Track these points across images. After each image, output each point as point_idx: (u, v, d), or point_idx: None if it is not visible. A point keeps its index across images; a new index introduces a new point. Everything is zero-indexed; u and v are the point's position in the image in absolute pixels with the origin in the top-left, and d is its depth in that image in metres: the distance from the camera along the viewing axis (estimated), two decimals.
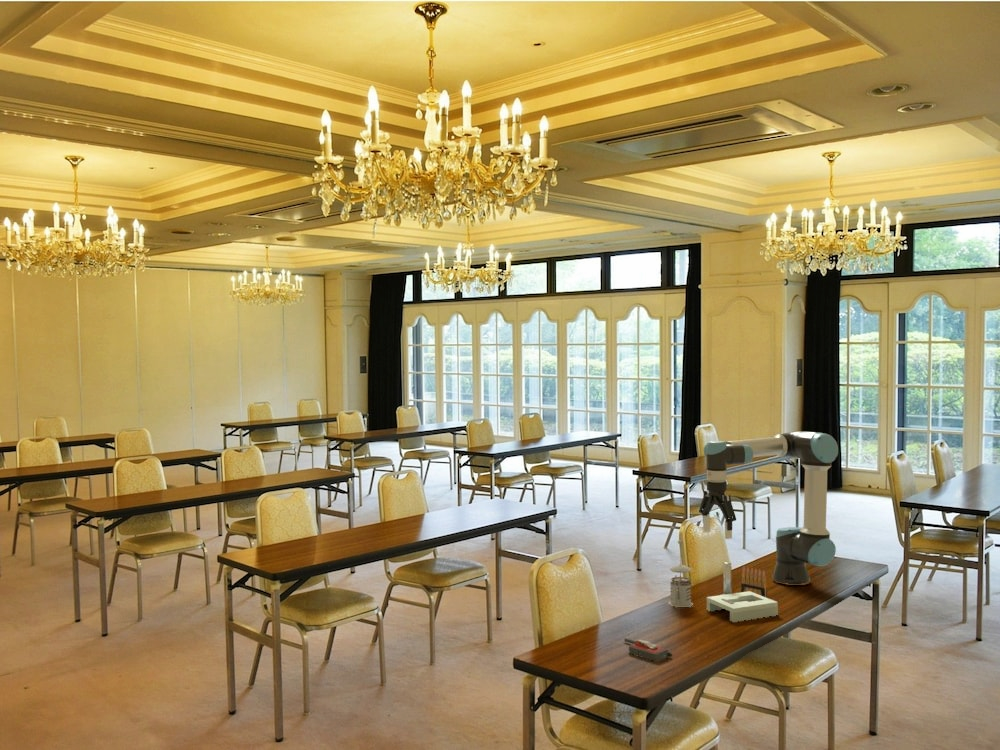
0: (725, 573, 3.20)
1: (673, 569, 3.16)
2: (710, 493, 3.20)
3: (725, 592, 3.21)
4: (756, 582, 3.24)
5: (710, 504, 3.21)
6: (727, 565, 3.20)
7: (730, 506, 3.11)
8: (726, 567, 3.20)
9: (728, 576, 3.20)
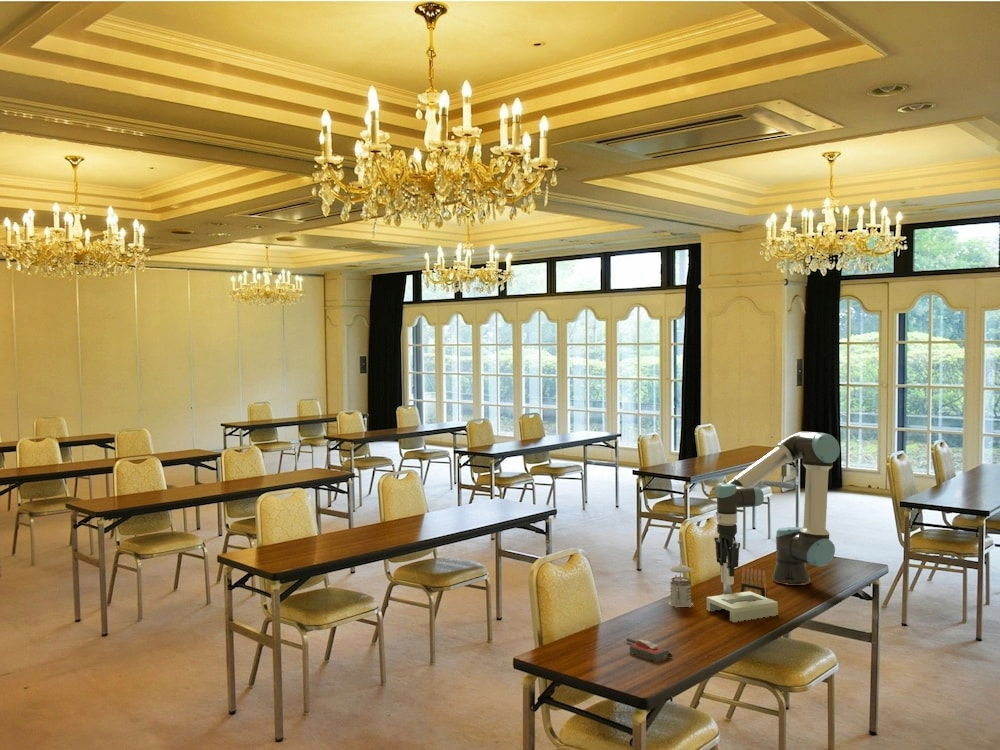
0: (725, 573, 3.20)
1: (673, 569, 3.16)
2: (720, 535, 3.24)
3: (725, 592, 3.21)
4: (756, 582, 3.24)
5: (723, 549, 3.22)
6: (727, 565, 3.20)
7: (736, 554, 3.16)
8: (726, 567, 3.20)
9: None
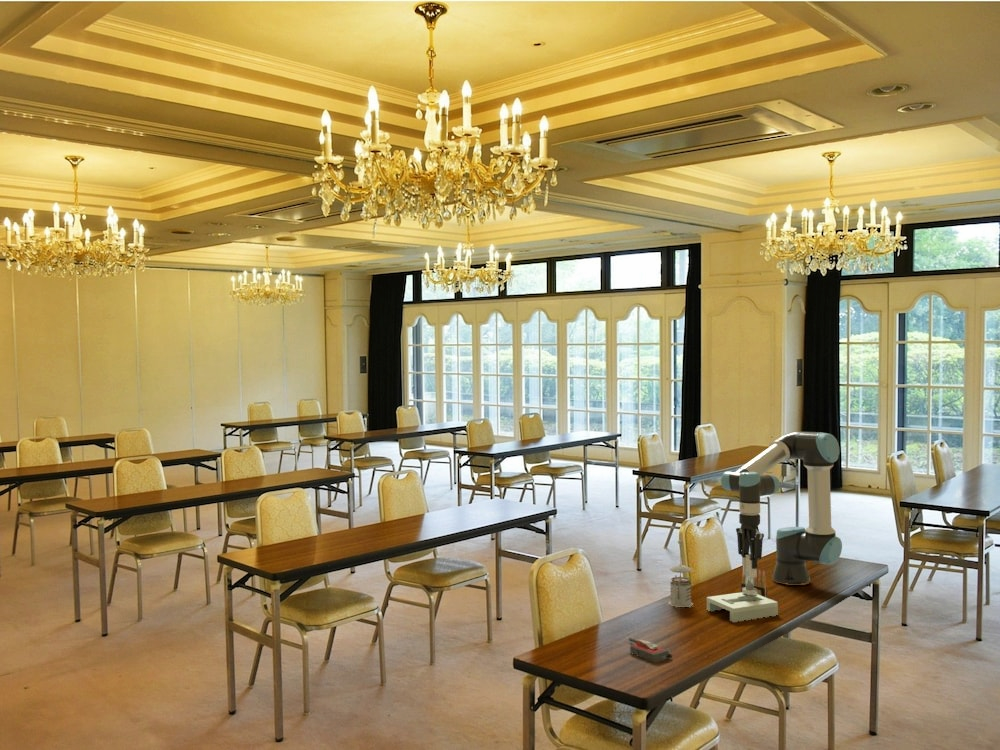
0: (747, 565, 3.06)
1: (673, 569, 3.16)
2: (742, 525, 3.09)
3: (747, 585, 3.06)
4: (756, 582, 3.24)
5: (746, 540, 3.08)
6: (749, 557, 3.05)
7: (760, 545, 3.02)
8: (748, 559, 3.06)
9: None
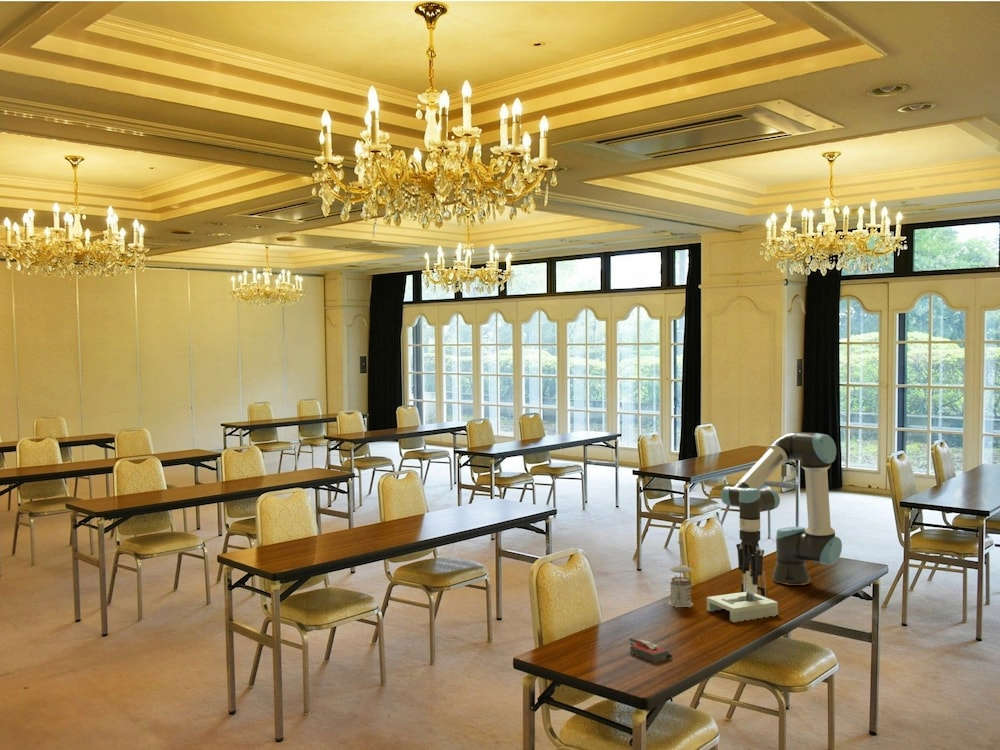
0: (748, 581, 3.06)
1: (673, 569, 3.16)
2: (742, 541, 3.09)
3: (748, 601, 3.06)
4: None
5: (746, 556, 3.08)
6: (750, 573, 3.06)
7: (760, 561, 3.02)
8: (748, 575, 3.06)
9: None
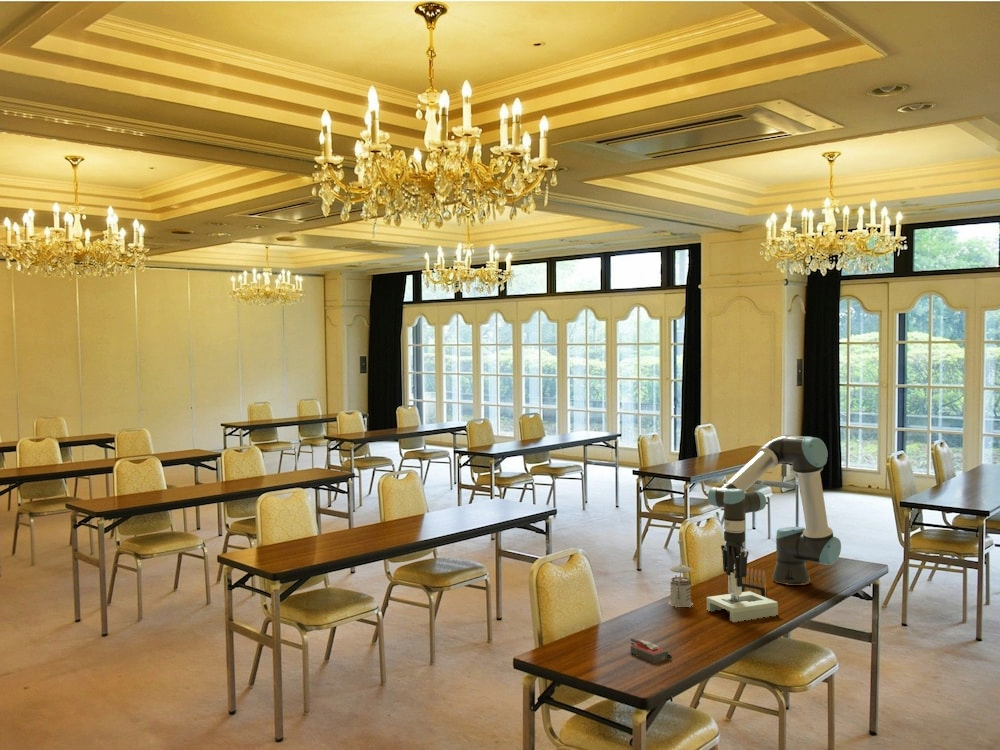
0: (732, 583, 3.03)
1: (673, 569, 3.16)
2: (727, 543, 3.07)
3: None
4: (756, 582, 3.24)
5: (731, 557, 3.05)
6: (734, 575, 3.03)
7: (745, 563, 2.99)
8: (733, 577, 3.03)
9: None
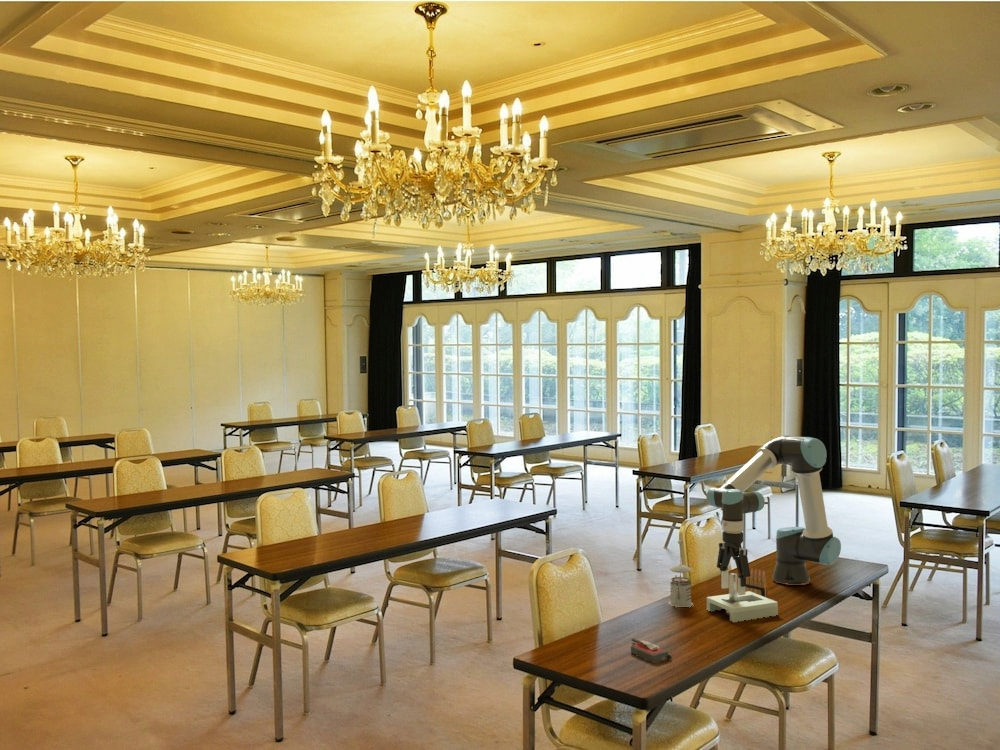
0: (731, 585, 3.03)
1: (673, 569, 3.16)
2: (725, 543, 3.06)
3: None
4: (756, 582, 3.24)
5: (727, 556, 3.06)
6: (733, 576, 3.03)
7: (746, 561, 2.98)
8: (731, 579, 3.03)
9: (734, 588, 3.03)
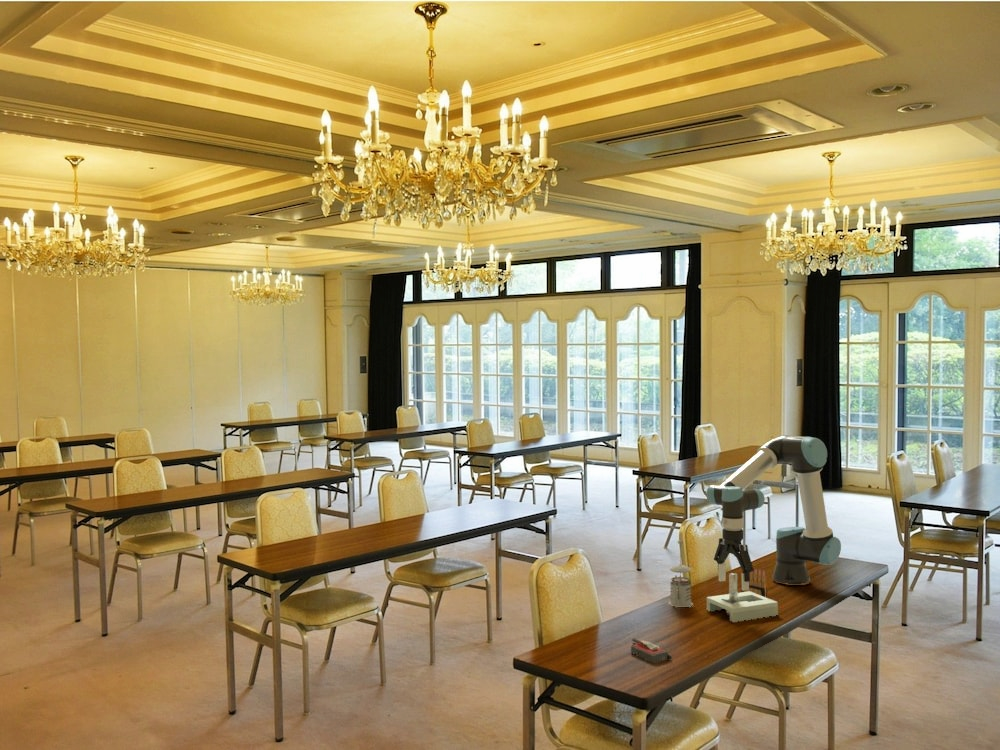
0: (731, 585, 3.03)
1: (673, 569, 3.16)
2: (726, 541, 3.06)
3: None
4: (756, 582, 3.24)
5: (726, 552, 3.07)
6: (733, 576, 3.03)
7: (747, 556, 2.97)
8: (731, 579, 3.03)
9: (734, 588, 3.03)
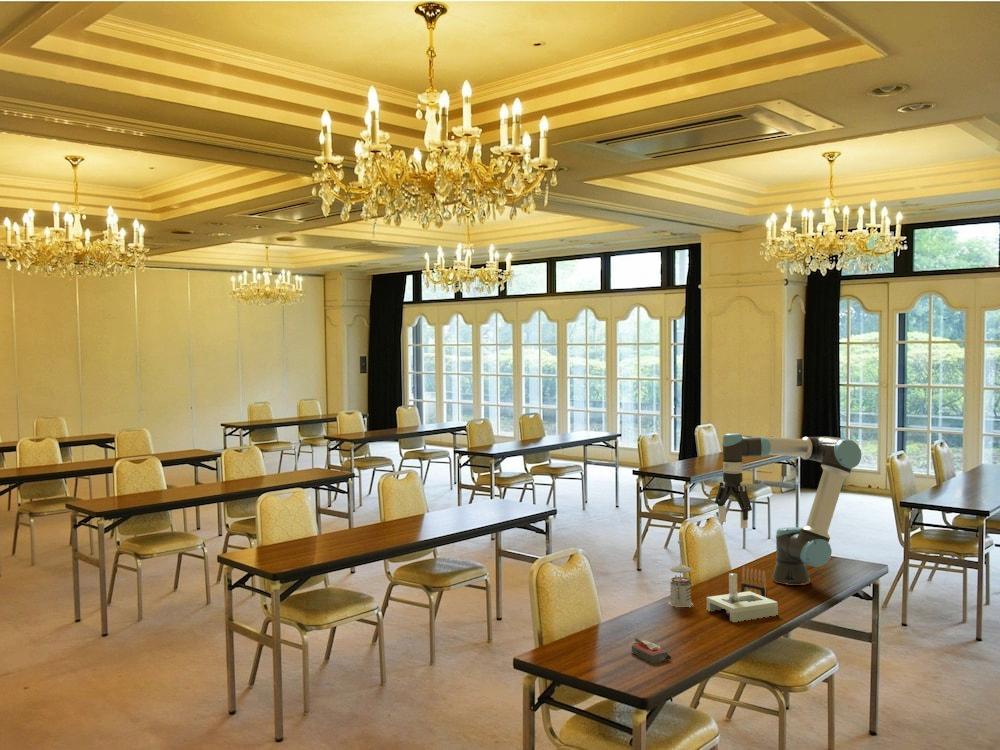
0: (731, 585, 3.03)
1: (673, 569, 3.16)
2: (726, 484, 3.29)
3: None
4: (756, 582, 3.24)
5: (726, 495, 3.30)
6: (733, 577, 3.03)
7: (746, 496, 3.20)
8: (731, 579, 3.03)
9: (734, 588, 3.03)
